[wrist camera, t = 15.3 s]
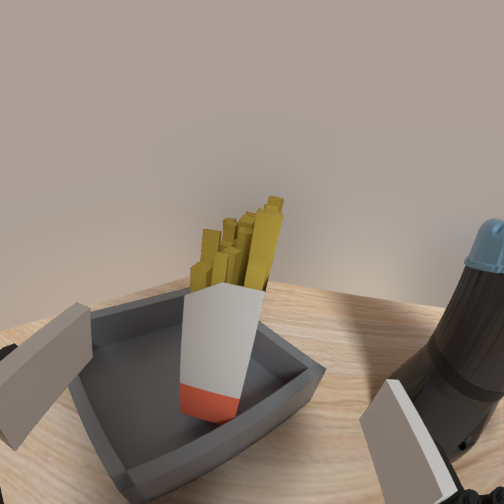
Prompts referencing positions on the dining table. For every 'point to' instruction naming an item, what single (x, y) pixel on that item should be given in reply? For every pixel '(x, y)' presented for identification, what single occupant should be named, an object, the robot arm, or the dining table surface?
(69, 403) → the dining table surface
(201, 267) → the french fries container
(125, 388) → the tray
